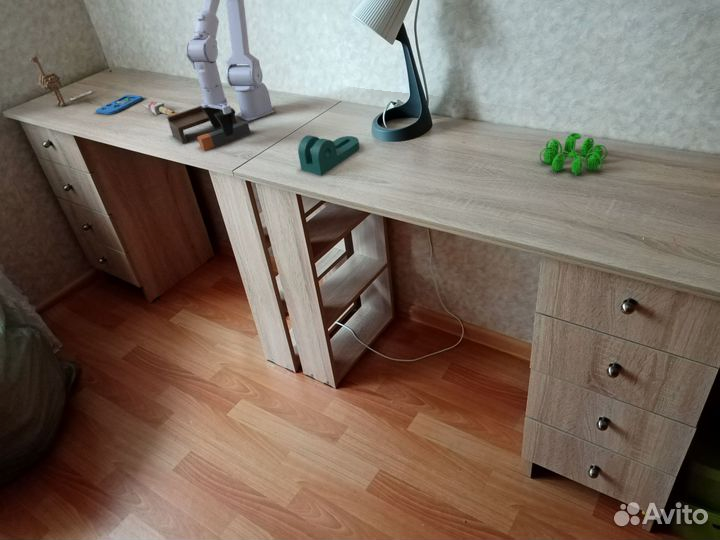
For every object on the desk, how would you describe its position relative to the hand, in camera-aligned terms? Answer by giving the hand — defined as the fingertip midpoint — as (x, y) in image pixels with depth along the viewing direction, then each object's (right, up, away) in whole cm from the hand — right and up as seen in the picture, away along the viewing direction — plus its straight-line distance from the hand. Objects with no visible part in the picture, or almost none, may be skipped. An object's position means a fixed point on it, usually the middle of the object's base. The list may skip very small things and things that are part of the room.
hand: (223, 131), depth 161 cm
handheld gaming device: (-45, +18, +36) cm, 60 cm away
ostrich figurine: (-67, +23, +46) cm, 85 cm away
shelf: (-8, +3, +10) cm, 13 cm away
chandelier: (+90, -15, -30) cm, 96 cm away
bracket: (+33, -11, -14) cm, 37 cm away
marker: (0, -2, +2) cm, 3 cm away
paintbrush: (-27, +13, +26) cm, 40 cm away
